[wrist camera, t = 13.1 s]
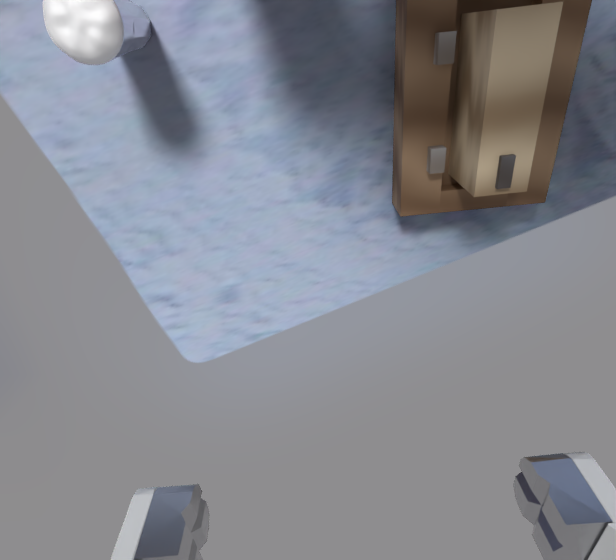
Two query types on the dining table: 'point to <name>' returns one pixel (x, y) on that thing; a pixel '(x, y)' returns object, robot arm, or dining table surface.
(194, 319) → the dining table surface
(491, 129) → the door
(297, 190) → the dining table surface
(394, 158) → the frame
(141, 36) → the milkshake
